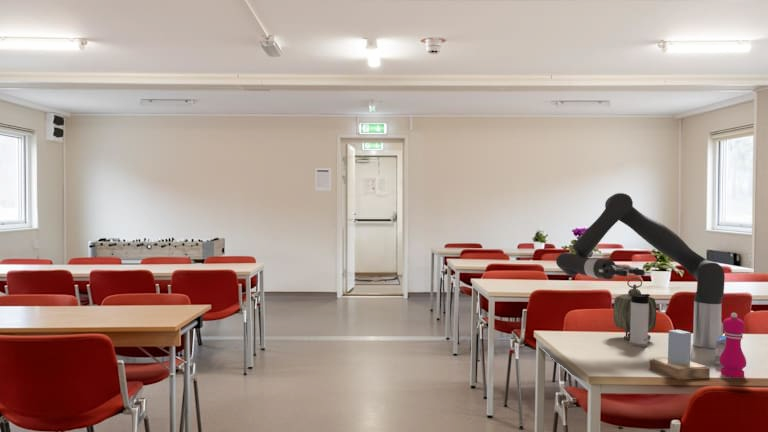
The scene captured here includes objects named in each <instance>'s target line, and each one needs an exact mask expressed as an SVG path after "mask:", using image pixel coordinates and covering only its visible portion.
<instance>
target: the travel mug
mask: <svg viewBox="0 0 768 432" xmlns="http://www.w3.org/2000/svg"><path fill="white" fill-rule="evenodd" d="M649 297H651V294H649V293H646V294H643V293H641V294H636V295H632V296H631V299H632V300H631V323H630V337H629V345H631V346H633V347H637V348H639V347H640V348H646V347H648V345H649V344H648V341H649V339H648V335H649V331H648V313H649Z"/></svg>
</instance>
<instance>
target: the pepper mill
mask: <svg viewBox="0 0 768 432" xmlns="http://www.w3.org/2000/svg"><path fill="white" fill-rule="evenodd" d="M722 323H723V330H724V331H723V335H724V336H725V337H726V346H725V348H724V350H723V352H722V354H721V356H720V363H721V364H722V366H721V369H720V373H721V374H720V375H722V376H724V375H725V377H729V378H733V377H735V379H743V378H744V377H745V371H744V370H743V369H744V368H745V367H746V366H747V358H746V356H745V354H744V352H743V350H742V345H741V344H742V340H743V339H744V338H743V335H744V334H743V332H744V331H745V330H746V324H745V322H744V321H743V320H742V319H741V318H738V314H737V313H736V312H732V313H731V314H730V317H727V318H725V319H724V320H723V321H722ZM742 377H743V378H742Z"/></svg>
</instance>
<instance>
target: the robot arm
mask: <svg viewBox="0 0 768 432" xmlns="http://www.w3.org/2000/svg"><path fill="white" fill-rule="evenodd" d="M604 206H605V209H604V210H603V212H602V213H601V214H600V215H599V216H598V218H597V219H596V220H595V221H594V222H593V223H592V224H591V225H590V226H589V227H588V228H586V230H585V231H584V232H583V233H582V234H581V235H580V237H579V238H577V240H576V241H575V243H574V244H573V246H572V249H573V250H574V253H573V252H567V251H566V252H561V253H560V254H558V255H557V257H556V258H555V259H556V260H555V262H556V266H557V267H558V268H559V269H560V270H562V271H563V272H564V273H565V274H566V275H568V277H575V276H576V275H578V274H579V275H581V276H587V277H591V278H595V279H602V280H609V281H610V280H611V279H613V278H614V277H629V275H630V276H631V275H632V276H640V277H641V276H642V277H643V276H645V275H646V273H645V269H644V268H643V269H642V268H639V267H636V266H635V267H633V266H629V265H621V264H616V263H615V261H614V260H612V259H610V258H609V259H607V258H598V257H593V258H592V257H589V255H590V254H591V253H592V252H593V250H594V249H595V248H596V247H597V246H598V244H599V243H600V242H601V241H602V239H603V238H604V237H605V235H607V233H608V232H609V231H610V230H611V229H612V227H614V226H615V224H617V222H618V221H620V222H622V223H623V224H624V225H626V226H628V227H629V228H630V229H631V230H633V231H634V233H636V234H637V235H638V236H640V237H641V238H642V239H643V240H645V242H647V243H648V244H649V245H650V246H652V247H653V248H655V249H656V250H657V251H659V252H660V253H662V254H663V255H665V256H666V257H668V258H670V259H671V260H672V261H674V262H675V263H677V264H679V265H680V266H681V267H682V268H683V269H685V270H686V271H687V272H688V273H689V274H690V275H691V276H692V277H693V278H694V279H695V280H696V292H695V294H694V297H693V331H692V333H693V334H692V345H693V346H695V347H697V348H704V349H711V350H713V349H715V350H716V341H717V340H718V339H719V338H720V337H722V336H723V335H724V328H723V321H722V301H723V298H724V292H725V271H724V268H723V266H721V265H720V264H719V263H717V262H714V261H711V260H709V259H706V258H704V257H703V256H702V255H700V254H698V253H697V252H695V251H694V250H693V249H691V247H690V246H688V244H686V242H685V241H684V240H683V239H682V238H681V237H680V236H679V235H678V234H677V233H675V231H673V230H671V229H670V228H669V227H668V226H666V225H665V224H664V223H662V222H660V221H658V220H655V219H653V218H651V217H649V216H647V215H645V214H643V213H642V212H641V211H639V210H638V209H636V208H635V207H634V205H633V199H632V197H631V196H630V195H629V194H627V193H624V192H617V193H614V194H612V195H611V196H609V197H608V198H607V199H606V201H605V204H604Z"/></svg>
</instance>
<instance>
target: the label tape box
mask: <svg viewBox="0 0 768 432" xmlns="http://www.w3.org/2000/svg"><path fill="white" fill-rule="evenodd" d="M725 346H726V337H725V336H722V337H720V338H719V339H718V340H717V341H716V349H715V352H714V353H715V355H714V356H715V357H714V365H716V366H720V367H723V366H722V364H721V363H720V356H721V354H722V352H723V350H724V348H725Z"/></svg>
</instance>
